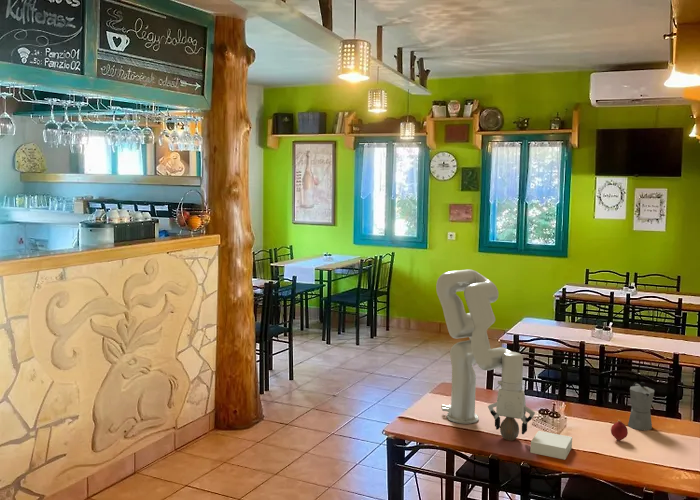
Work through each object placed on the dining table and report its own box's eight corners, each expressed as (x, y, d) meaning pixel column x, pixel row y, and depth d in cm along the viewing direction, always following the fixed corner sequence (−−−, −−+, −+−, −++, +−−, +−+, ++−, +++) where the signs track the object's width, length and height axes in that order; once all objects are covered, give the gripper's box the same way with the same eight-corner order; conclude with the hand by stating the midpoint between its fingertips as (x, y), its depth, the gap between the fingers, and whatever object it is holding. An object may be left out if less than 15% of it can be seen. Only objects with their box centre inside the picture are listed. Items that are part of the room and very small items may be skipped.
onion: (626, 438, 251) (627, 418, 250) (627, 444, 245) (628, 423, 244) (610, 436, 253) (611, 416, 252) (610, 442, 247) (611, 421, 246)
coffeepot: (658, 433, 257) (661, 387, 255) (633, 432, 258) (636, 386, 256) (643, 418, 272) (646, 375, 270) (620, 418, 273) (622, 375, 271)
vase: (519, 443, 245) (520, 419, 244) (499, 441, 247) (500, 418, 246) (518, 436, 252) (519, 413, 251) (499, 434, 253) (500, 411, 252)
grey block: (530, 452, 237) (530, 441, 236) (538, 441, 247) (538, 430, 247) (565, 459, 231) (565, 448, 231) (571, 447, 242) (572, 437, 241)
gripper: (485, 385, 248) (485, 430, 249) (532, 391, 240) (531, 438, 241) (491, 380, 254) (490, 423, 256) (537, 386, 246) (536, 431, 248)
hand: (510, 430), depth 249 cm, fingers open, 9 cm apart
